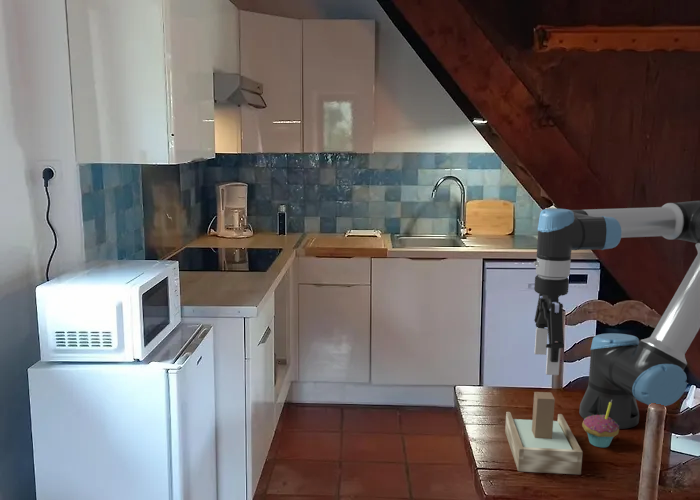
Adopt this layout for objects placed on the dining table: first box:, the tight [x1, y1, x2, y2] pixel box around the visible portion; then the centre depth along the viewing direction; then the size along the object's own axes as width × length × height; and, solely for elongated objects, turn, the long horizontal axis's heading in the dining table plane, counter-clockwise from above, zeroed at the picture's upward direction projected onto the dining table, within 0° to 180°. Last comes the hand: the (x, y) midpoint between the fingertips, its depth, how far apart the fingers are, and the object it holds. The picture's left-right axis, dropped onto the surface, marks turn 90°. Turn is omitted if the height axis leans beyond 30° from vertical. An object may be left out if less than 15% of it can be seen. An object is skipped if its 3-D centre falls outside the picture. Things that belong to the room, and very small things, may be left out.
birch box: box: [504, 411, 584, 475], centre depth 161 cm, size 14×20×6 cm
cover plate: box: [513, 391, 572, 449], centre depth 159 cm, size 11×16×12 cm
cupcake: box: [581, 400, 620, 448], centre depth 165 cm, size 9×8×12 cm
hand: (545, 363), depth 157 cm, fingers open, 13 cm apart
